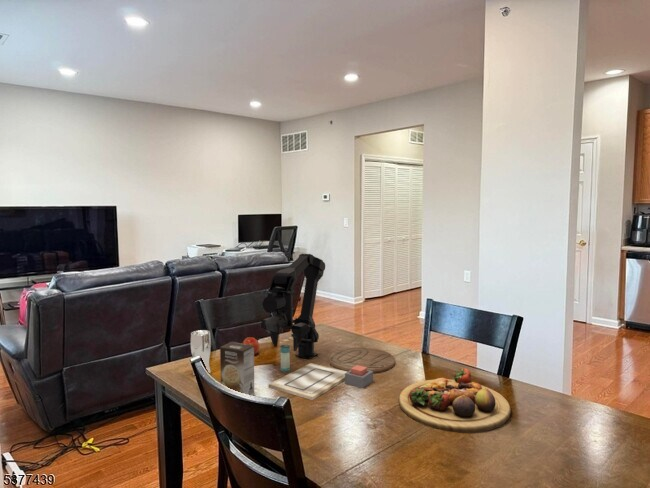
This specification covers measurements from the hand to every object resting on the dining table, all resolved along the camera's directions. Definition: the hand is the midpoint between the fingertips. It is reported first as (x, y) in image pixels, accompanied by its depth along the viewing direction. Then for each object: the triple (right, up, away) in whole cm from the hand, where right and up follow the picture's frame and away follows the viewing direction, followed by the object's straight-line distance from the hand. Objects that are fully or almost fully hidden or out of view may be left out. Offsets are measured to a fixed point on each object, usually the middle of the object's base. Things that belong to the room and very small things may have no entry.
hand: (285, 348), depth 163 cm
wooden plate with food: (+53, -11, -29) cm, 61 cm away
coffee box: (-13, -10, -21) cm, 26 cm away
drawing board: (+10, -9, -10) cm, 16 cm away
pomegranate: (-16, -7, +18) cm, 25 cm away
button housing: (+26, -9, -11) cm, 29 cm away
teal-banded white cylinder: (0, -8, +1) cm, 8 cm away
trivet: (+29, -8, +9) cm, 31 cm away
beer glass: (-30, -9, -2) cm, 31 cm away
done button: (+26, -7, -11) cm, 29 cm away
